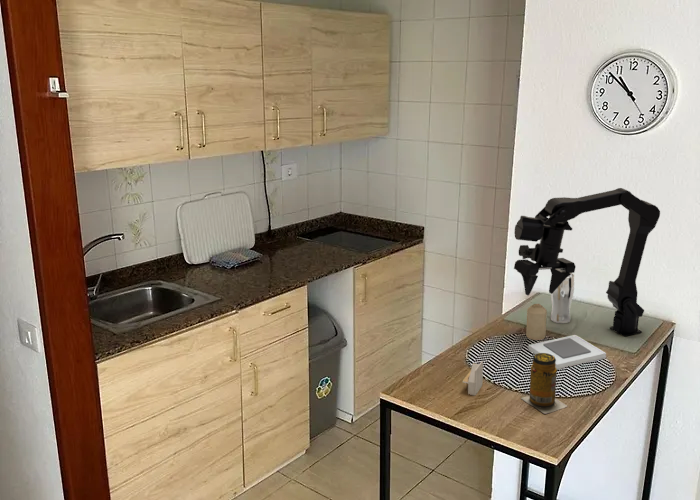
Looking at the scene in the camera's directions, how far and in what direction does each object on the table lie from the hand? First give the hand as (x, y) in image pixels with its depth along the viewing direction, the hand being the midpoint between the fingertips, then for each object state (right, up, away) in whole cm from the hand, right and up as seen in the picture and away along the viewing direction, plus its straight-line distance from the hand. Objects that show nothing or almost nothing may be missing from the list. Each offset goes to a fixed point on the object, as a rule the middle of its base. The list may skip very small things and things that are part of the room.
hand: (538, 294), depth 189 cm
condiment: (-7, -25, -30) cm, 40 cm away
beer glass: (+11, -9, +16) cm, 22 cm away
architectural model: (-23, -24, -22) cm, 40 cm away
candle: (+1, -13, +5) cm, 14 cm away
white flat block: (+6, -16, -6) cm, 19 cm away
